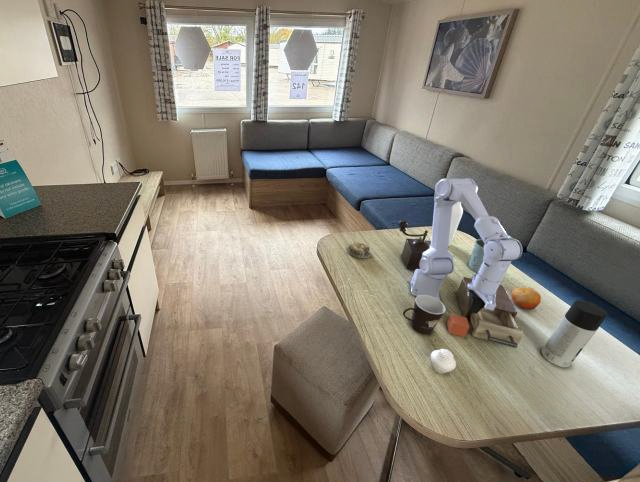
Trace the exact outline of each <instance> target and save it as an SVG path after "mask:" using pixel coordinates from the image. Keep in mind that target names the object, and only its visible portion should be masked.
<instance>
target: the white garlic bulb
mask: <svg viewBox="0 0 640 482" xmlns="http://www.w3.org/2000/svg"><path fill="white" fill-rule="evenodd" d="M430 361H431V364H432V367H433V370H435V371H436V372H437V373H439V374H446V373H449V372H450V373H451V372H452V371H453V370H454V369H455V368H456V366H457V362H456V359H455V358H454V354H453V353H452V352H451V350H449V349H447V348H440V349H436V350H433V351H432V352H431V354H430Z"/></svg>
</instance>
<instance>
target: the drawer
mask: <svg viewBox="0 0 640 482" xmlns="http://www.w3.org/2000/svg"><path fill="white" fill-rule="evenodd" d="M469 316H470V319H471V321H470V322H471V325H472V328H473V331H472V334H471V335H472V337H474V338H478V339H482V340H486V341H488V342H492V343H496V344H500V345H502V346H507V347H511V348H514V349H517V348H518V344H519V343H520V342H521V340H522V338H523V337H524V336H525V332H524V331H523V330H520V329H519V326H518V325H517V323H516V320H515V318H514V319H513V316H512V314H511V313H508V312H503V311H499V310H495V309H494V310H489V309H485V307H484V308H482V309H481V310H480V311H479V312H478V313H477V314H476V313H471V312H470V314H469Z"/></svg>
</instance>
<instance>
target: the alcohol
mask: <svg viewBox="0 0 640 482" xmlns="http://www.w3.org/2000/svg"><path fill="white" fill-rule="evenodd" d="M463 214H464V209H463V206H462V202H459V201H458V202H457V203H456V204H454V205H453V206H452V213H451V223H450V233H449V243H448V247H450V246H451V245H452V243H453V240H454V237H455V234H456V232H457V230H458V227H459V224H460V222H461V220H462V217H463Z"/></svg>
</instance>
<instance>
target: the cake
mask: <svg viewBox="0 0 640 482" xmlns="http://www.w3.org/2000/svg"><path fill="white" fill-rule="evenodd" d="M370 251H371V250H370V246H369V244H367V243H366V242H362V241H361V242H360V241H356V242H352V243H351V244H350V245H349V248H348V250H347V252H348V254H349V255H351V256H352V257H354V258H357V259H368V258H370V257H371V255H372V253H371V252H370Z"/></svg>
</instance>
